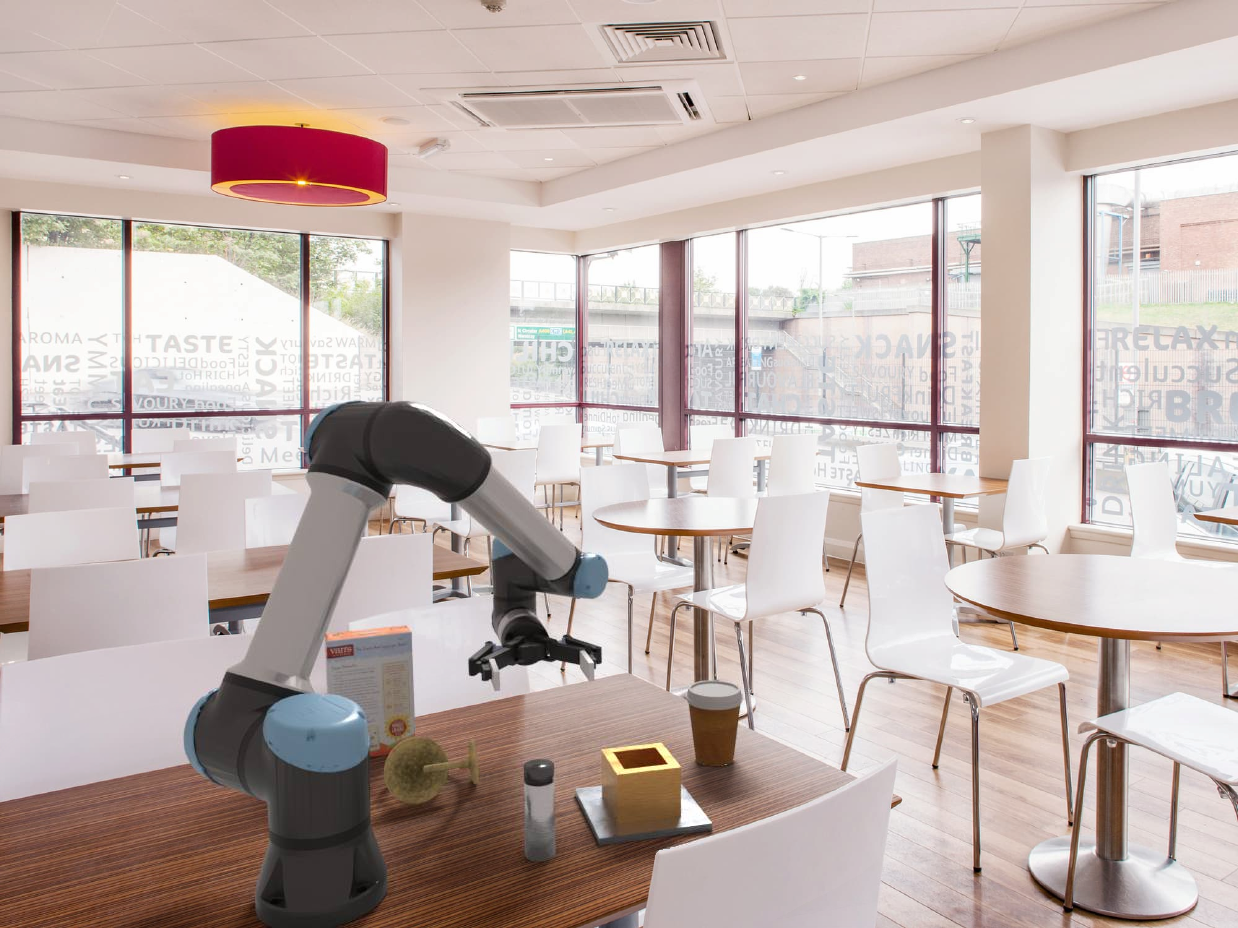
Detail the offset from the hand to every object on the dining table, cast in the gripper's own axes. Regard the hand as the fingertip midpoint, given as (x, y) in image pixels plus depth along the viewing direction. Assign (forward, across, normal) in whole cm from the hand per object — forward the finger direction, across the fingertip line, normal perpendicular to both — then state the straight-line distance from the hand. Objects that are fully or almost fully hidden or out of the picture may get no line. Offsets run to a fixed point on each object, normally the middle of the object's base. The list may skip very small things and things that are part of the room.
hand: (545, 676), depth 127 cm
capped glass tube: (+11, +3, -20) cm, 23 cm away
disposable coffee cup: (-12, -30, -21) cm, 39 cm away
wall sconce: (-20, +16, -20) cm, 32 cm away
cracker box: (-31, +25, -21) cm, 45 cm away
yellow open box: (+3, -13, -20) cm, 24 cm away
